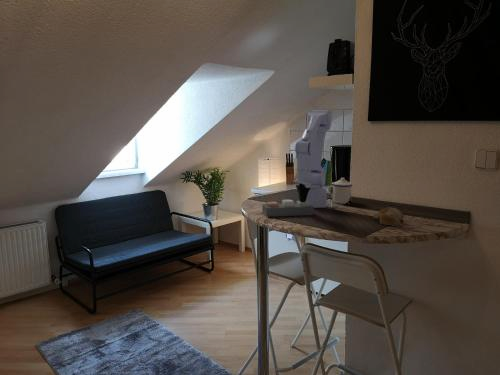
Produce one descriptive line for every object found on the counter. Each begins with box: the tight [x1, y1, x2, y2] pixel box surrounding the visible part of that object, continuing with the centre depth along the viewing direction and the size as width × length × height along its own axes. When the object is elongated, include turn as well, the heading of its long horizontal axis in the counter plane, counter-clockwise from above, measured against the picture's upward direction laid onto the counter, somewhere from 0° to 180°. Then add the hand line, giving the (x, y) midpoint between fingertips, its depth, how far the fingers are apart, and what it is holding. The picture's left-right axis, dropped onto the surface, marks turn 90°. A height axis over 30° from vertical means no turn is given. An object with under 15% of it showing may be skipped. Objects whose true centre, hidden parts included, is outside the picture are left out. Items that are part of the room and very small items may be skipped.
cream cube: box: [281, 199, 295, 207], centre depth 172 cm, size 4×4×4 cm
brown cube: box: [266, 201, 279, 207], centre depth 171 cm, size 4×4×4 cm
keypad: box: [261, 202, 315, 217], centre depth 172 cm, size 20×8×4 cm, turn 100°
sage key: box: [296, 200, 309, 206], centre depth 173 cm, size 4×4×4 cm
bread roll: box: [374, 206, 405, 227], centre depth 158 cm, size 10×10×8 cm
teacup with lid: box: [327, 177, 353, 205], centre depth 197 cm, size 12×9×12 cm
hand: (302, 201), depth 173 cm, fingers closed, pressing on sage key
